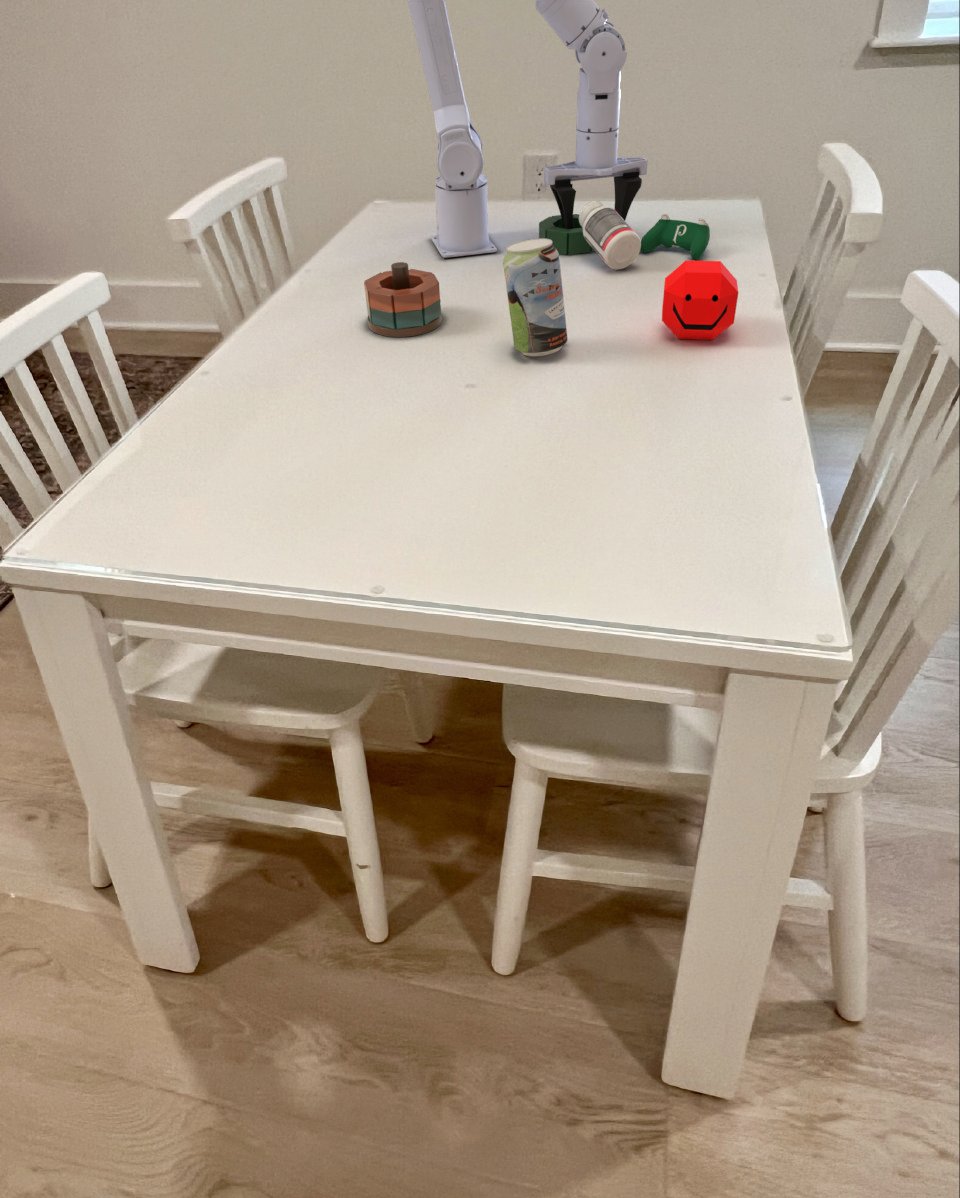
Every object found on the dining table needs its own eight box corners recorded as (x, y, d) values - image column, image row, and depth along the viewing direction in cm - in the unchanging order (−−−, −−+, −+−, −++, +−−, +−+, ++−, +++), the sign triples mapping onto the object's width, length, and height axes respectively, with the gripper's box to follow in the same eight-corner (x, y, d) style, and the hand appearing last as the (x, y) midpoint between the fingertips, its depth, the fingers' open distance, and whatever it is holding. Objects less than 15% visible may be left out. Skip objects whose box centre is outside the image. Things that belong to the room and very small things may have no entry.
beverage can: (551, 367, 98) (552, 256, 90) (494, 354, 101) (490, 246, 93) (577, 346, 102) (580, 238, 94) (521, 334, 105) (520, 229, 97)
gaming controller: (703, 270, 124) (718, 231, 124) (698, 256, 121) (714, 215, 121) (642, 261, 128) (657, 222, 128) (636, 247, 125) (651, 207, 125)
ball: (659, 345, 101) (666, 278, 96) (660, 318, 107) (667, 253, 102) (732, 348, 100) (742, 280, 95) (729, 320, 106) (738, 255, 101)
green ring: (533, 238, 132) (533, 217, 130) (588, 232, 133) (589, 211, 132) (550, 257, 126) (550, 235, 124) (608, 250, 127) (609, 228, 125)
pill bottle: (645, 230, 117) (610, 192, 122) (609, 238, 115) (575, 199, 121) (638, 266, 121) (605, 228, 126) (603, 274, 120) (571, 235, 125)
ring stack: (364, 313, 112) (357, 257, 107) (434, 304, 113) (429, 248, 109) (373, 341, 105) (366, 282, 101) (448, 331, 106) (444, 273, 102)
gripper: (554, 139, 116) (553, 246, 125) (659, 129, 118) (650, 234, 127) (539, 128, 122) (539, 231, 130) (639, 119, 124) (632, 220, 132)
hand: (593, 232), depth 129 cm, fingers open, 7 cm apart
